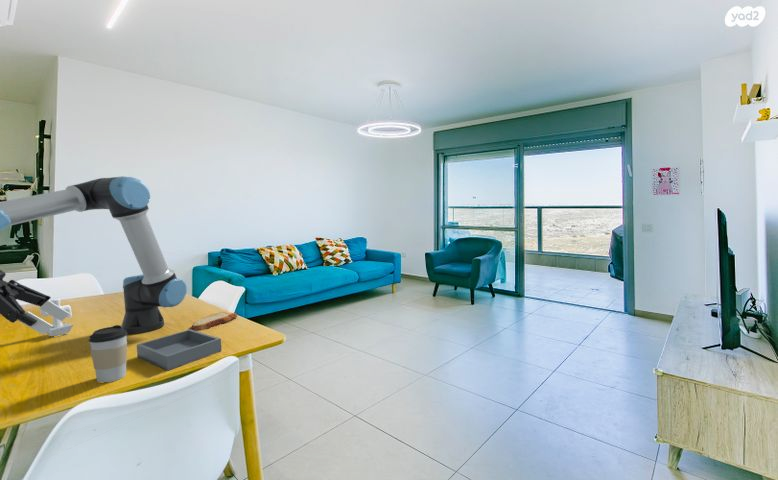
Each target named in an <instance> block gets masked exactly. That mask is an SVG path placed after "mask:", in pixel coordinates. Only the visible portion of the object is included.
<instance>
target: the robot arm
mask: <svg viewBox="0 0 778 480" xmlns="http://www.w3.org/2000/svg"><path fill="white" fill-rule="evenodd" d="M150 199H151V192H150V190H149V188H148V185H146V184H145V183H144V182H143V181H142V180H140V179H138V178H136V177H133V176H124V175H123V176H115V177H101V178H100V177H99V178H95V179H93V180H88V181H85V182H81V183H76V184H71V185H68V186H66V187H65V189H62V190H56V191H50V192H46V193H45V192H44V193H40V194H34V195H30V196H25V197H24V196H23V197H20V198H14V199H9V200H3V201H0V233H1V232H2V231H4V229H6V228H7V227H10V226H14V225H19V224H23V223H27V222H31V221H35V220H40V219H44V218H49V217H52V216H53V217H54V216H56V215H61V214H65V213H69V212H74V211H76V212H78V213H83V212H86V211H93V210H109V213H110V214H111V217H112V218H113V219H115V220H117V221H119V223H120V225H121V227H122V229H123V231H124V234H125V236H126V238H127V241H128V244H129V245H130V248H131V250H132V252H133V254H134V256H135V259H136V261H137V263H138V266H139V268H140V270H141V272H142V274H137V275H132V276H127V277H125V278H124V279H123V281H122V283H123V284H122V290H123V299H124V301H123V302H124V315H123V319H122V323H121V325H120V326H121V327H122V328H123V329H125V330H126V331H127V335H129V334H130V335H132V334H134V335H135V334H142V333H147V332H151V331H155V330H158V329H160V328H162V327H164V326H165V319H164V317H163V315H162V312H161V311H160V308H159V307H161V308H173V307H176V306H178V305H180V304H181V303H182V302H183V301H184V299H185V298H186V295H187V292H188V288H187V287H188V286H187V283H186V282H185V281H184V280H182V279H181V278H177V275H176V273H175V270H173V269H171V268H169V266H168V265H167V262H166V259H165V257H164V255H163V252H162V250H161V246H160V245H159V242H158V239H157V237H156V235H155V233H154V231H153V228H152V225H151V222H150V220H149V218H148V216H147V213H148V211H149V209H150V208H149V206H148V204H149V203H150ZM6 274H7V273H6V272H5V271H3V270H1V269H0V315H1V316H2V317H4V318H5V320H7V321H8V322H10V323H13V324H14V323H15V322H17V321H18V322H20V323H21V324H23V325H25V326H26V327H29V328H30V329H32V330H34V331H36V332H37V333H40V334H41V335H45V334H47V333H46V332H47V331H48V330H49V329H51V328H52V327H53V324H52V323H49V322H47V321H46V320H44V319H43V318H41V317H39V316H37V315H36V314H34V313H32V312H31V311H29V310H28V311H26V310H25V309H24V308H23V307H22V306H21V305H20V303H19V301H20V302H21V301H22V302H24V303H27V304H31V305H34V306H37V307H39V309H42V310H43V311H45V312H47V313H48V314H50V315H49V316H51V317H52V316H53V317H55V318H57V319H59V320H60V321H64V320H65V319H66V318H67V316H68V315H69V314H70V313H69V312H67V311H65V310H64V309H62V308H61V307H59V306H57V305H56V304H54V303H52V302H51V299H52V297H51V296H50V295H47V294H44V293H42V292H39V291H37V290H35V289H33V288H30V287H28V286H26V285H23V284H21V283H19V282H17V281H16V280H14V279H10V280H9V281H6V280H3V279H4V278H5V276H6ZM17 300H18V301H17Z"/></svg>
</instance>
